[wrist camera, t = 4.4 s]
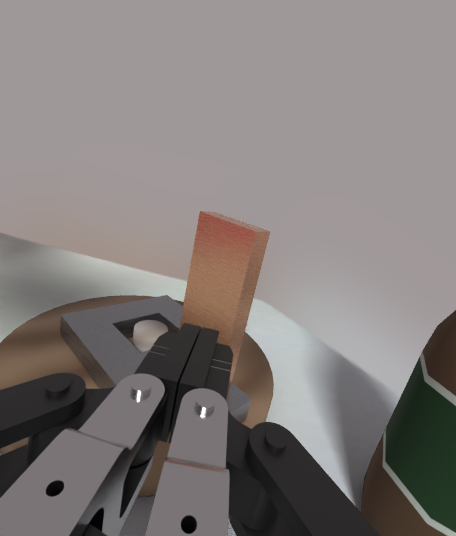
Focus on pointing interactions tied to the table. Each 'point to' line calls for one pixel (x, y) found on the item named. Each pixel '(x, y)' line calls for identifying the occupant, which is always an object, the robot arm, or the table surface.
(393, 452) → the beer bottle
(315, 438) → the table surface
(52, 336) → the post base
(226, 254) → the handled square nut
